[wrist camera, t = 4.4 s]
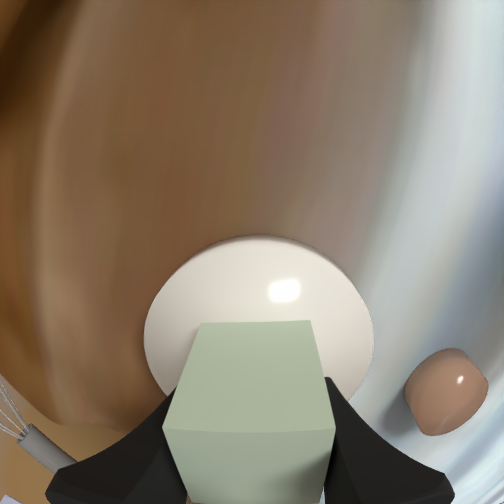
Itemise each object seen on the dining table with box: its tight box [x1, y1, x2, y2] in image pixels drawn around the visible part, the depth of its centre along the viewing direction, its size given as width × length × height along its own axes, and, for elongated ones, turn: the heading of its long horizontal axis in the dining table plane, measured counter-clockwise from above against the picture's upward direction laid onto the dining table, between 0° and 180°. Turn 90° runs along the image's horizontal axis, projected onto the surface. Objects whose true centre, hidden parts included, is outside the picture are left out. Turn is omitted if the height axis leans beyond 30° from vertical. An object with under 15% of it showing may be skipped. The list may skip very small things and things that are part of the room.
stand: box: [144, 235, 374, 401], centre depth 15 cm, size 11×11×2 cm
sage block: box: [162, 320, 336, 504], centre depth 11 cm, size 4×4×6 cm
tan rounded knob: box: [404, 348, 488, 436], centre depth 15 cm, size 5×5×3 cm
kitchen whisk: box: [0, 380, 77, 474], centre depth 17 cm, size 6×34×6 cm, turn 34°
